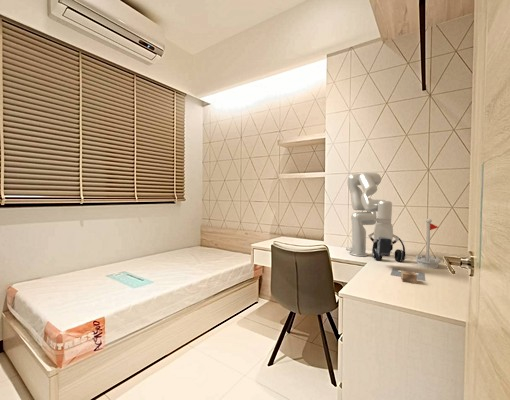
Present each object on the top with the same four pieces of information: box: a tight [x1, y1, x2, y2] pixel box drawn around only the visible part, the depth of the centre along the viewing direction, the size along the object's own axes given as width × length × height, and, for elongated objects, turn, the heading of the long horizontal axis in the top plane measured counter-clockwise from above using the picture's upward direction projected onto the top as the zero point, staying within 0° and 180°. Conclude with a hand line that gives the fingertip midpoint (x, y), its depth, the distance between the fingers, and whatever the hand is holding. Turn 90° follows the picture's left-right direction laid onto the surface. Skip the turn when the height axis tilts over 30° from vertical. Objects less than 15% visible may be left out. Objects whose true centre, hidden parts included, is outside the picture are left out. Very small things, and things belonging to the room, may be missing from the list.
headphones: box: [371, 234, 406, 262], centre depth 170 cm, size 20×7×18 cm, turn 81°
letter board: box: [390, 267, 426, 282], centre depth 140 cm, size 16×16×1 cm
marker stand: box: [414, 218, 441, 269], centre depth 160 cm, size 13×13×30 cm
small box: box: [375, 238, 391, 257], centre depth 153 cm, size 11×6×10 cm, turn 167°
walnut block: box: [400, 269, 418, 285], centre depth 129 cm, size 6×6×5 cm
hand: (382, 249), depth 153 cm, fingers closed on small box, 7 cm apart
